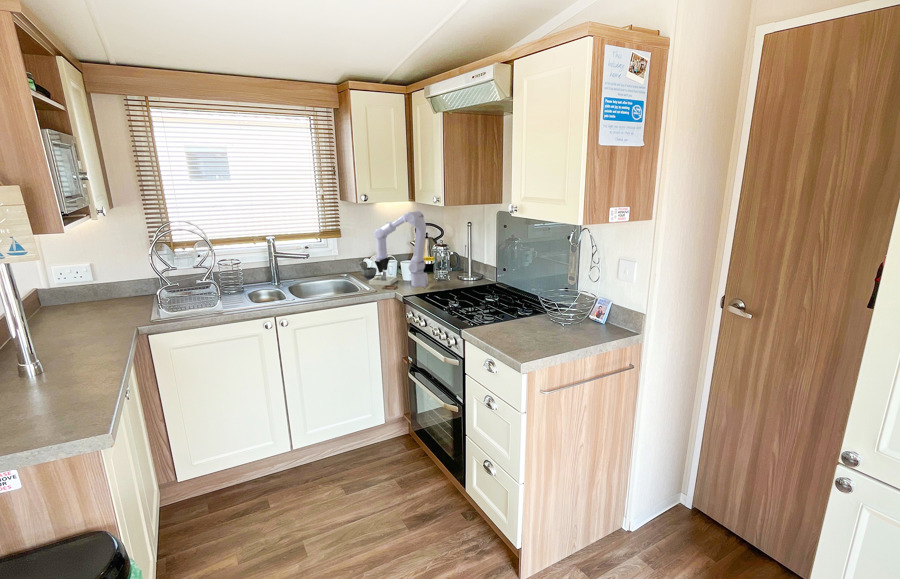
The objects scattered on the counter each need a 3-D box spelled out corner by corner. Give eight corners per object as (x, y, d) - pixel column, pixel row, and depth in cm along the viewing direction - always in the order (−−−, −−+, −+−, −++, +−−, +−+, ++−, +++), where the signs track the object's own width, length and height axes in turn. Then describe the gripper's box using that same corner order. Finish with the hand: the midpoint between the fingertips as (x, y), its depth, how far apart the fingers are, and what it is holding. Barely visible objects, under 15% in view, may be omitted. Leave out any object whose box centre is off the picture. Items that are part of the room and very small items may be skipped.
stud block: (400, 288, 257) (400, 284, 256) (395, 292, 247) (395, 288, 247) (384, 288, 259) (384, 284, 258) (378, 292, 249) (378, 288, 249)
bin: (397, 282, 273) (397, 276, 272) (390, 287, 261) (389, 281, 260) (377, 281, 276) (376, 276, 275) (369, 286, 263) (368, 280, 262)
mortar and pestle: (375, 277, 290) (374, 259, 287) (378, 279, 282) (377, 261, 279) (358, 278, 286) (357, 260, 283) (361, 281, 277) (360, 262, 275)
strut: (383, 282, 271) (382, 271, 269) (388, 283, 269) (388, 271, 267) (379, 283, 267) (378, 272, 266) (384, 284, 265) (384, 273, 264)
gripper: (379, 247, 271) (381, 268, 274) (370, 250, 257) (372, 273, 260) (390, 247, 269) (391, 269, 273) (382, 250, 256) (383, 273, 259)
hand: (383, 271), depth 266 cm, fingers open, 7 cm apart
